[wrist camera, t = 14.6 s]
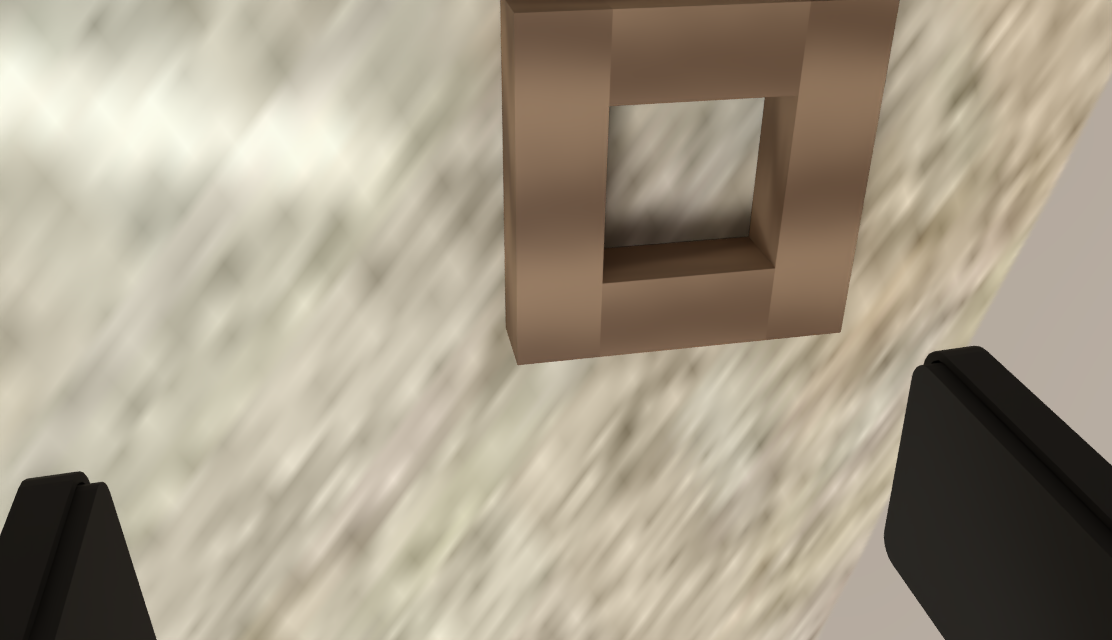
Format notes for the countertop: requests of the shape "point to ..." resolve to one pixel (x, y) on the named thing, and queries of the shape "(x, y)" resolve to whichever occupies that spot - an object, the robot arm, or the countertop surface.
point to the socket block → (683, 76)
